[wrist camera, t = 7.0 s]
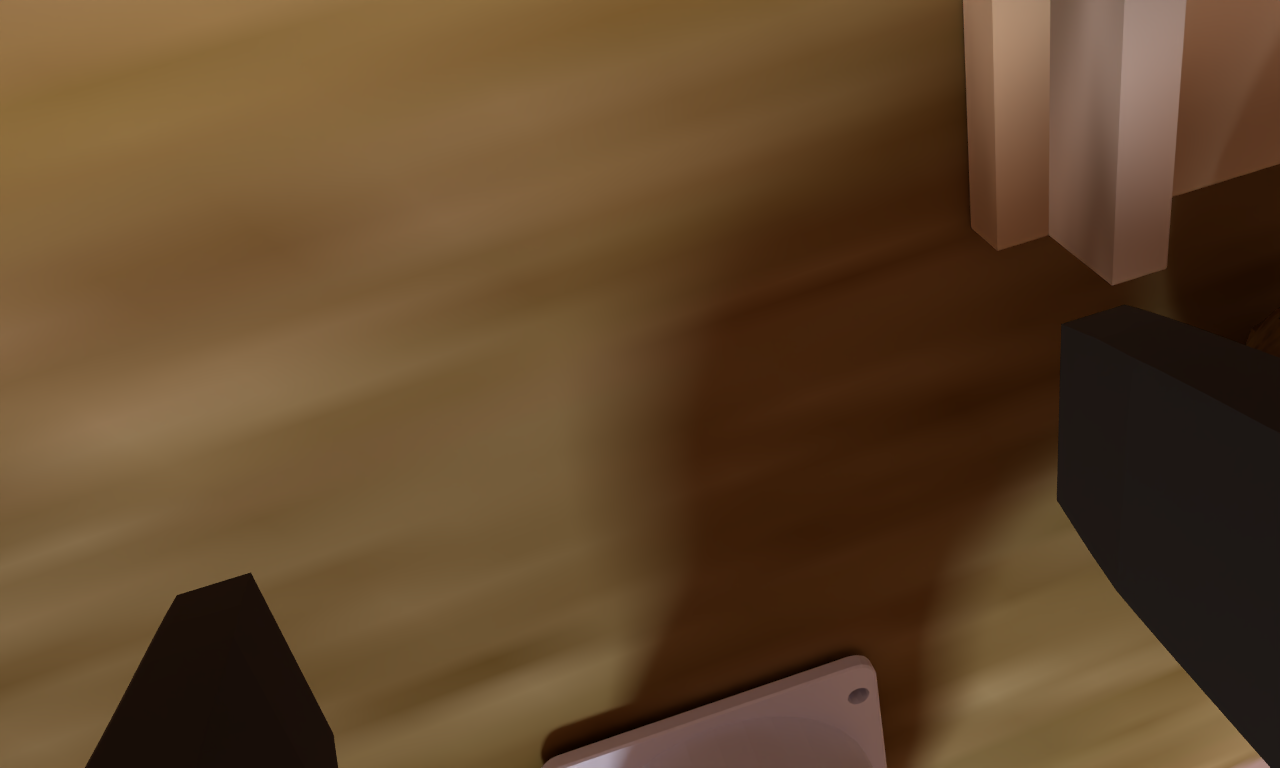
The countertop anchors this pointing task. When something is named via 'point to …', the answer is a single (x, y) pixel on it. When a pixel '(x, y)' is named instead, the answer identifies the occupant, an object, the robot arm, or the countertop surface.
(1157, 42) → the press board
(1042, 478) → the countertop surface
